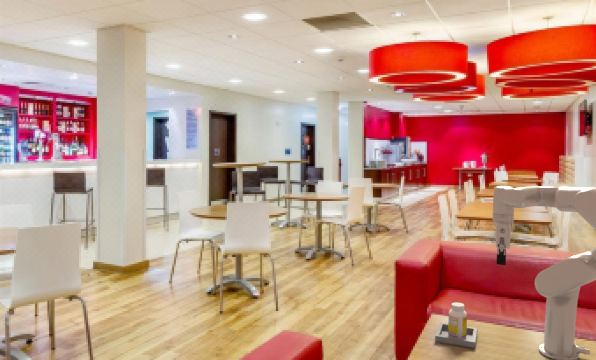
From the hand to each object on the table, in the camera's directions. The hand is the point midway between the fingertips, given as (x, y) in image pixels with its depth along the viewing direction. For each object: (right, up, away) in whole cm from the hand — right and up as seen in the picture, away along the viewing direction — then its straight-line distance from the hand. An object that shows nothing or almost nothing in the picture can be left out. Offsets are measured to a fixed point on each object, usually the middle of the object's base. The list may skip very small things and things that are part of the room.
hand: (501, 261), depth 187 cm
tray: (-19, -29, -3) cm, 34 cm away
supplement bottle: (-18, -28, -4) cm, 34 cm away
